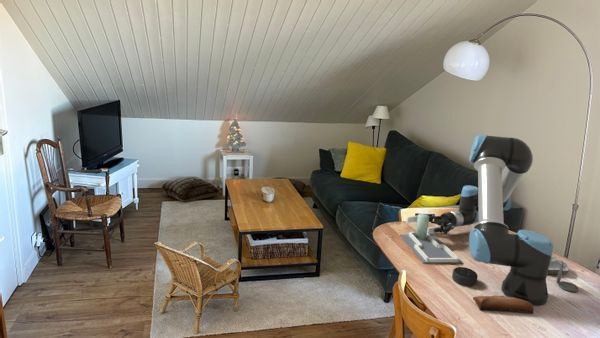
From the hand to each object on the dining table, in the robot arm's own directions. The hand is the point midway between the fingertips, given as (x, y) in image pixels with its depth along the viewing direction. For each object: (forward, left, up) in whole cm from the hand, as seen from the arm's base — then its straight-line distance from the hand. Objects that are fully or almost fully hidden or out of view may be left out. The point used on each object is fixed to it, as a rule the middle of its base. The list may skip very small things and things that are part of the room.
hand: (417, 225), depth 200 cm
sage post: (+1, -3, -7) cm, 7 cm away
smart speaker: (-37, -5, -8) cm, 38 cm away
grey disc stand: (-42, -43, -8) cm, 61 cm away
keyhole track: (-9, -3, -7) cm, 12 cm away
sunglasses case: (-54, -10, -8) cm, 56 cm away
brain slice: (-25, -45, -8) cm, 52 cm away
